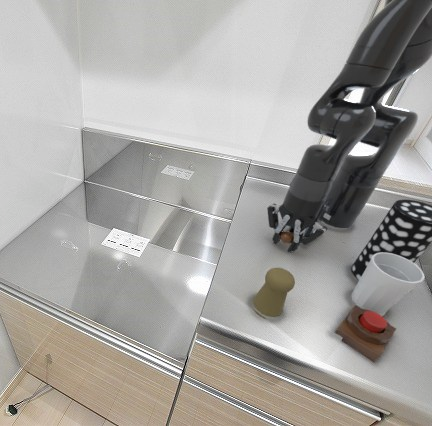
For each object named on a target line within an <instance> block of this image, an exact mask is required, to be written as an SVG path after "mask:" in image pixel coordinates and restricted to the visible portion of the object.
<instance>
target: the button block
mask: <svg viewBox="0 0 432 426" xmlns="http://www.w3.org/2000/svg"><path fill="white" fill-rule="evenodd" d="M366 311H370V310H366V309H362V308H360V307H359V306H358V305H357V304H355V305H354V306H353V307H352V308H351V310H350V311H349V313H348V314H347V315H346V316H345V318H344V319H343V320H342V321H341V323H340V324H339V325H338V327H337V328H336V330H335V331H334V333H335V334H337V335H338V336H340V337H341V341H342V342H343V344H346V345H347V346H348V347H350V348H352V349H353V350H355V351H356V352H358V353H359V354H360V355H362V356H363V357H365V358H367V359H368V360H370V361H371V362H373V363H375V362H376V361H378V360H379V358H380V357H381V356H382V354H383V352H384V351H385V349H386V347H387V346H388V343H389V342H390V340H391V338H392V337H393V335H394V334H395V332H396V330H397V327H395V326H393V325H391V324H390V323H389V322H388V321H387V320H386V322H387V326H386V327H385V328H384V329H383V331H382V332H380V333H374V332H371V331H369V330H367V329H366V328H364V327H363V326H362V325H361V323H360V321H359V319H360V317H361V316H362V315H363V313H364V312H366ZM372 312H373V311H372Z"/></svg>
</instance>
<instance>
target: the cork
mask: <svg viewBox="0 0 432 426" xmlns="http://www.w3.org/2000/svg"><path fill="white" fill-rule="evenodd" d="M295 285H296V280H295V277H294V275H293V274H292V273H291V272H290V271H289V270H288V269H285V268H282V267H273V268H270V269H269V270H268V271H266V273H265V276H264V283H263V285H262V286H261V287H260V289H259V291H258V292H257V293H256V294H255V296H254V298H253V300H252V304H253V306H254V308H255V309H254V308H253V309H252V310H253V312H254V313H255V314H256V315H257V316H259V317H260V318H262V319H264V320H267V318H266V317H268V318H277V317H279V316H280V315H282V314H283V313H282V312H283V310H284V307H285V303H286V298H287V297H288V293H289V292H291V291H292V290H293V289H294V287H295ZM263 315H264V316H263Z"/></svg>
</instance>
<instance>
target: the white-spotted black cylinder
mask: <svg viewBox="0 0 432 426" xmlns="http://www.w3.org/2000/svg"><path fill="white" fill-rule="evenodd" d="M431 244H432V205H431V204H429V203H426V202H423V201H418V200H414V199H398V200H395V202H393V204H392V206H391V207H390V208H389V210H388V212H387V213H386V214H385V216H384V217H383V219H382V221H381V222H380V224H379V225H378V226H377V228H376V229H375V231H374V233H373V234H372V236H371V237H370V239H369V240H368V242H367V243H366V244H365V246H364V247H363V249H362V251H360V254H358V256H357V258H356V260H355V261H354V263H353V264H351V265H352V266H350V271H351V274H352V275H353V277H355V278H356V280H358V281H359V280H360V278H361V276H362V275H363V273H364V271H365V269H366V268H367V266H368V264H369V262H370V260H371V258H372V256H373V255H374V254H376V253H380V252H385V253H392V254H396V255H399V256H401V257H404V258H406V259H408V260H410V261H411V262H413V263H414V264H416V263H415V262H417V260H418V259H419V258H420V257H421V255H423V253H424V252H425V251H426V250H427V249H428V247H429V246H430V245H431Z"/></svg>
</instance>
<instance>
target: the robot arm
mask: <svg viewBox="0 0 432 426" xmlns="http://www.w3.org/2000/svg"><path fill="white" fill-rule="evenodd" d="M431 58H432V0H384V4H383V8H382V9H381V10H380V11H379V12H377V13H376V14H375V16H373V18H372V19H371V20H370V21H369V22H368V23H367V24H366V26H365V27H364V28H363V29H362V31H361V32H360V34H359V36H358V37H357V39H356V41H355V43H354V45H353V47H352V49H351V51H350V53H349V55H348V57H347V59H346V61H345V63H344V65H343V67H342V69H341V70H340V72H339V74H338V75H337V76H336V78H335V79H334V80H333V82H332V83H330V85H329V87H328V88H327V89H326V90H325V91H324V93H323V94H322V95H321V96H320V98H319V99H318V100H317V101H316V102H315V103H314V105H313V106H312V107H311V109H310V110H309V113H308V115H307V120H306V124H307V127H308V129H309V130H310V131H311V132H313V133H314V134H318V135H321V136H324V137H328V138H330V139H333V140H335V143H334V144H333V145H332V144H321V143H320V144H319V143H315V144H312V145H309V146H308V147H307V148H306V149H305V151H304V153H303V155H302V157H301V160H300V163H299V165H298V168H297V170H296V172H295V173H294V175H293V177H292V179H291V181H290V183H289V187H288V189H287V192H286V195H285V197H284V200H283V202H282V204H281V205H278V204H277V203H275V202H274V203H272V204H270V205H269V206H268V207H267V219H268V227H269V228H270V229H273V230H274V233H273V236H272V242H273V243H272V244H274V245H278V244H279V243H280V242H281V239H280V235H281V234H282V233H283V232H285V229H286V228H287V226H288V227H292V228H293V229H294V240H293V241H292V242H291V243H290V245H289V247H288V249H287V252H288V253H291V254H292V253H293V252H295V251H297V250H298V248H299V246H300V244H302V245H304V246H307V245H308V244H310V243H312V242H313V241H314V240H316V239H318V238H319V237H321V236H323V234H324V233H326V232H327V231H328V227H327V226H329V227H332V228H336V229H343V230H346V229H351V228H352V227H354V225H355V223H356V221H357V219H358V217H359V216H360V215H361V213H362V211H363V210H364V208H365V206H366V204H367V203H368V201H369V199H370V198H371V196H372V194H373V193H374V191H375V190H376V188H377V187H378V184H379V183H380V181H381V179H382V177H384V175H385V174H386V171H387V170H388V169H389V167H390V165H391V164H392V163H393V161H394V159H395V157H396V156H397V154H398V153H399V151H400V150H401V148H402V147H403V146H404V144H405V142H406V141H407V139H408V138H410V136H411V134H412V132H413V131H414V129H415V128H416V126H417V123H418V121H419V116H418V114H417V112H415V111H412V110H407V109H403V108H398V107H394V106H388V105H385V104H383V101H384V98H385V96H386V95H387V94H389V92H390V91H391V90H392V89H394V88H395V87H396V86H398V85H399V84H401V83H402V82H403V81H405V80H406V79H408V78H409V77H411V76H412V75H413V74H415V73H416V72H417V71H418V70H420V69H422V67H423V66H424V65H426V64H427V62H428V61H429V60H430V59H431ZM356 90H363V91H362V94H361V97H360V99H359V102H357V101H352V100H348V99H346V98H347V96H348V95H350V93H352V92H353V91H356ZM359 143H360V144H363V145H367V146H370V147H373V148H376V149H377V150H376V151H375V152H354V153H351V152H352V151H353V150H354V148H356V146H357V145H358V144H359ZM328 197H329V198H331V199H332V201H331V203H330V205H329V209H328V210H327V211H326V212H325V214H324V216H323V218H322V220H321V222H322V223H323V224H325V225H327V226H325V225H323V226H322V225H321V223H320V224H319V223H318V222H317V221H318V219H317V216H318V214H319V211H320V209H321V207H322V205H323V203H324V201H325V200H326V199H327V198H328ZM279 214H280V217H281V221H280V222H279ZM311 226H313V230H312V232H313V233H312V234H310V235H309V236H307V237H305V236H304V232H305V230H306V228H308V227H311Z"/></svg>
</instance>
